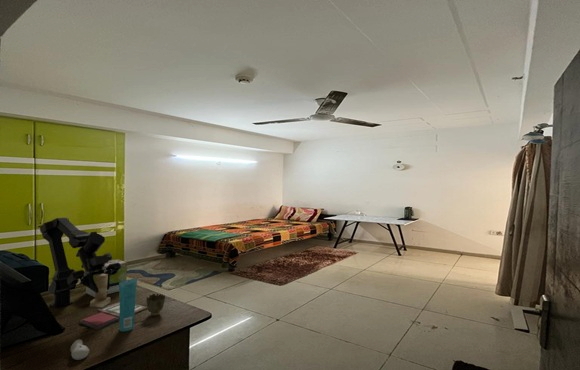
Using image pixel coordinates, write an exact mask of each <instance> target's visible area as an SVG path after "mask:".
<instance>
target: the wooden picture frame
mask: <svg viewBox="0 0 580 370" xmlns="http://www.w3.org/2000/svg"><path fill="white" fill-rule="evenodd" d="M145 310H148V309H147V306H144V305H140V304H136V303H135V313H134V315H136V314H139V313H140V312H143V311H145ZM97 312H98V313H100V312H102V313H105V314H108V315H111V316H115V317H118V318H119V319H120V301H118V302H115V303H113V304H110V305H108V306H107V307H105V308H103V309H97Z"/></svg>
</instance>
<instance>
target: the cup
mask: <svg viewBox="0 0 580 370" xmlns="http://www.w3.org/2000/svg"><path fill="white" fill-rule="evenodd" d="M165 298H166V295H163V294H162V293H156V294H155V293H152V294H149V297H148V296H146V307H147V309H146V310H147V311H148V312H149V313H150V316H151V317H157V316H159V315H160V313H161V311H162V310H163V308H164V305H165V300H166V299H165Z"/></svg>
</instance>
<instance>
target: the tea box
mask: <svg viewBox="0 0 580 370" xmlns="http://www.w3.org/2000/svg"><path fill="white" fill-rule="evenodd" d="M112 263H120V265H121V268H120V269H119V271H118V272H117V273H116V274H114V275H110V288H109V290H107V295H110V294H114V293H117V292H118V293H119V282H122V281H126V280H127V275H128V274H127V272H128V262H127V261H124V260H121V259H118V258H117V259H112V260H110V261H108V263H105V266H104V267H102V268H103V269H104V268H107V267H108V266H109V264H112ZM98 275H99V274H98ZM96 276H97V275H94V276H93V279H94V282H95V284H96ZM85 287H86V286H85ZM85 289H86V290H85V293H86V294H87V295H89V296H91V297H93V298H95V292H94V291H93V290H91V289H90V288H88V287H86V288H85Z"/></svg>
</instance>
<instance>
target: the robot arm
mask: <svg viewBox="0 0 580 370" xmlns="http://www.w3.org/2000/svg"><path fill="white" fill-rule="evenodd" d="M39 231H40V233H41V236H42V238H43V239H44V240H45V241H47V242H48V245H49V249H50V253H51V258H52V263H53V267H54V271H55V272H54V274H53V276H52V278H51V280H52V282H51V283H50V285H49V286H48V293H49V294H52V295H53V302H52V303H50V304H49V306H51V307H53V308H57V309H60V308H63V307H65V306H69V305H72V304H74V301H72V300H71V291H72V290H75V289H76V287H77V284H78V282H79V280H80V282H79V285H83V286H85V287H88V288H90V289H91V290H93V291H94V292H96V293H98V288H97V286H96V284H95V282H94V279H93V276H94V275H98V274H107V275H108V281H107V290H109V288H110V275H114V274H116V273H117V272H118V271H119V269H120V268H121V265H120V263H112V264H109V266H108V267H107V268H104V269H103V268H102V267H104V266H105V263H108V261H111V260H113V257H112V254H111V252H105V253H104V254H102V255H97V252H98V251H99V250H100V248H101V247H102V246H103V244H104V243H105V237H104V236H103V235H102V234H101V233H97V231H91V232H90V233H89V232H87V231H84V230H80V229H79V228H78V227H77V226H76V225H74V224H73V223H72V222H71V221H70V219H69V218H68V217H56V218H54V219H52V220H49V221H47V222H44V223H43V224H41V225H40V227H39ZM63 235H65V236H66V237H67V239H68V244H69V246H70V247H71V248H72V249H78V250H77V253H76V255H75V256H76V257H79V259H80V262H81V266H80V267H81V269H80V270H75V269H74V268H70V267H69V265H68V260H67V257H66V252H65V251H66V250H65V248H64V244H63V240H62V238H63ZM76 257H75V258H76Z"/></svg>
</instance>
